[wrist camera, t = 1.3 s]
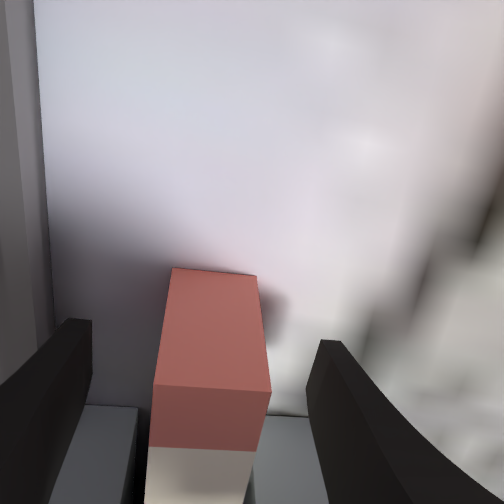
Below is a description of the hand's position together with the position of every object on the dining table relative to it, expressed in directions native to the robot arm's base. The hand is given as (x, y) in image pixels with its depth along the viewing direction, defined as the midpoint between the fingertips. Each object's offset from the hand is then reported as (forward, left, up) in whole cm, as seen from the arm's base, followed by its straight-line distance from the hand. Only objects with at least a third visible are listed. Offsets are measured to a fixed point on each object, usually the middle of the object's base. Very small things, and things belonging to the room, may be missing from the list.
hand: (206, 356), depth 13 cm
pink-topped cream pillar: (-3, 0, -1) cm, 3 cm away
